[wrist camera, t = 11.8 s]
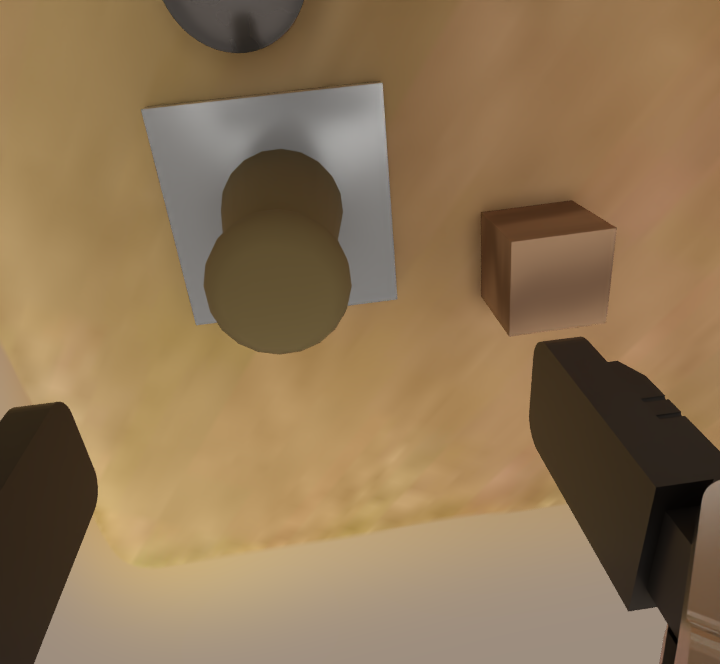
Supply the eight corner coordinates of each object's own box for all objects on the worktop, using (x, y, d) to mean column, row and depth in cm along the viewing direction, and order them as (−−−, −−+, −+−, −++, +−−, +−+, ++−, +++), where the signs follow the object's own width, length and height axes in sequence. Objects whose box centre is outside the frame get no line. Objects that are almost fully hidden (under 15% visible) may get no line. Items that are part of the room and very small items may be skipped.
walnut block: (480, 211, 31) (511, 242, 27) (571, 200, 31) (616, 228, 27) (481, 296, 34) (509, 336, 29) (565, 284, 34) (606, 322, 29)
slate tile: (145, 106, 27) (141, 109, 26) (379, 81, 28) (382, 82, 27) (198, 317, 32) (196, 325, 31) (394, 291, 33) (397, 299, 32)
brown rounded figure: (341, 268, 31) (363, 379, 21) (224, 267, 30) (192, 382, 20) (345, 150, 28) (372, 215, 18) (216, 146, 27) (174, 213, 18)
